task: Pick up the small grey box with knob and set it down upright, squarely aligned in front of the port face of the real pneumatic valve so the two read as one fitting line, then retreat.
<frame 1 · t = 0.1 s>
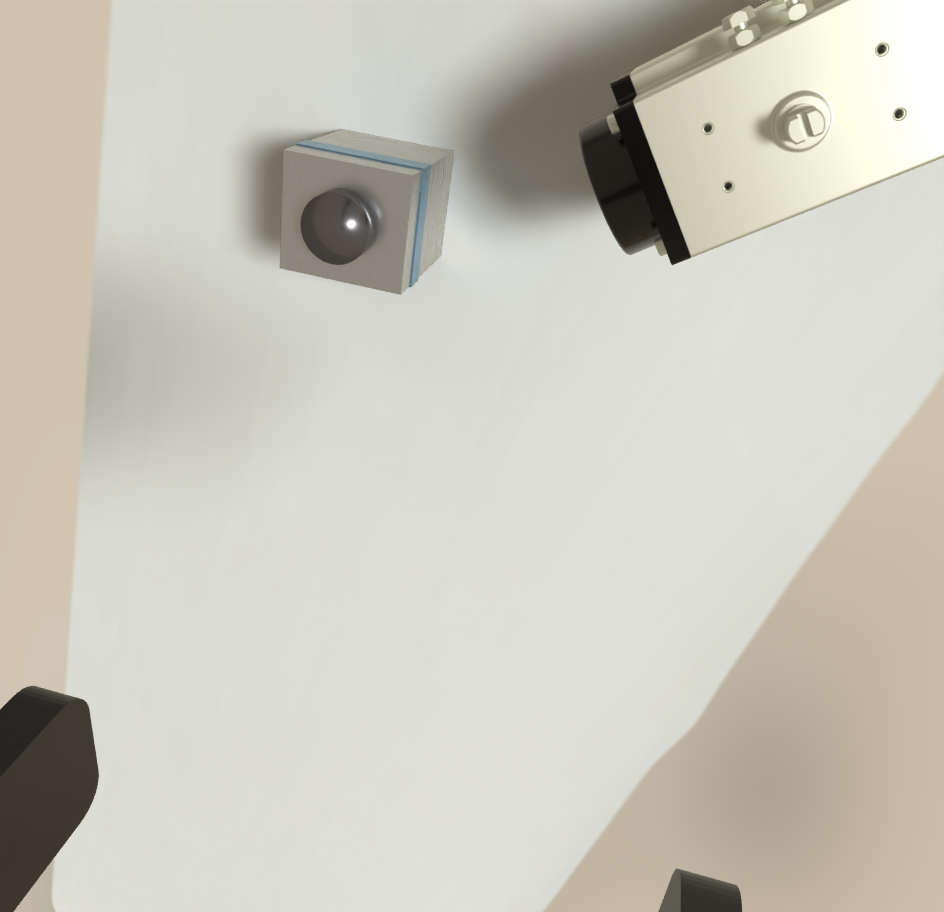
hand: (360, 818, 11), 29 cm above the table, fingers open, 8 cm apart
pneumatic valve: (765, 76, 32), on the table
grey box with knob: (392, 193, 37), on the table
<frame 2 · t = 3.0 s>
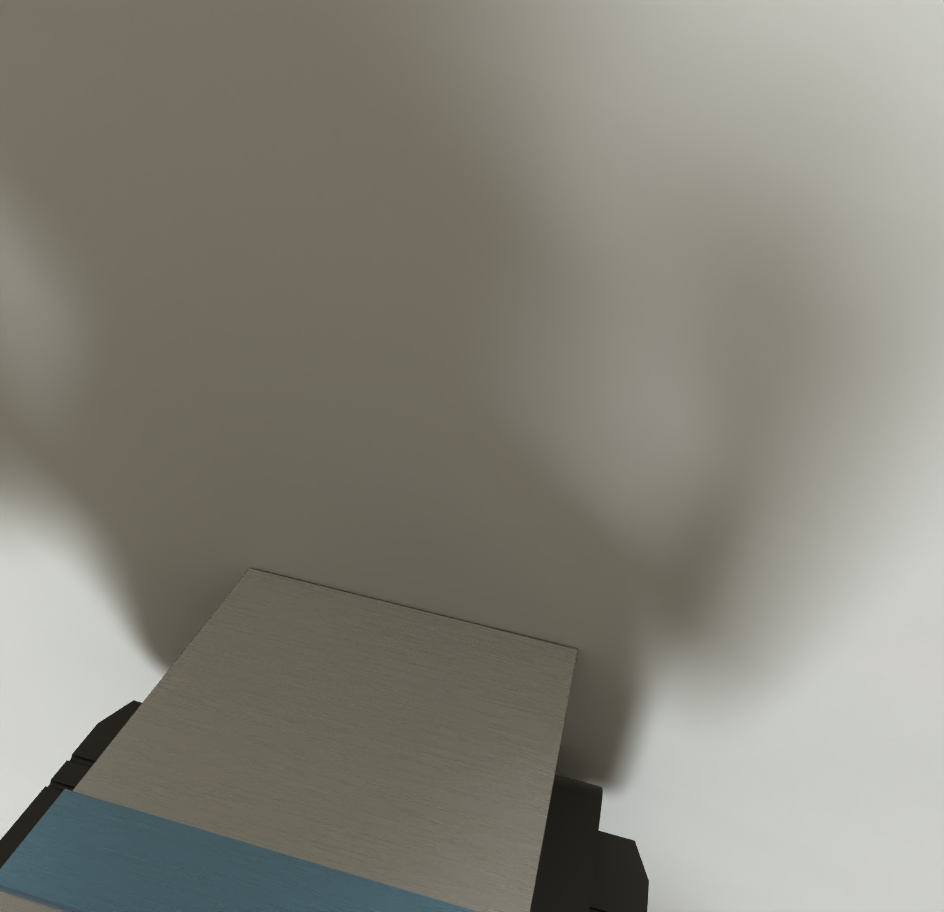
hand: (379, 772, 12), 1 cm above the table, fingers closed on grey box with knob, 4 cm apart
grey box with knob: (395, 740, 12), on the table, touching gripper
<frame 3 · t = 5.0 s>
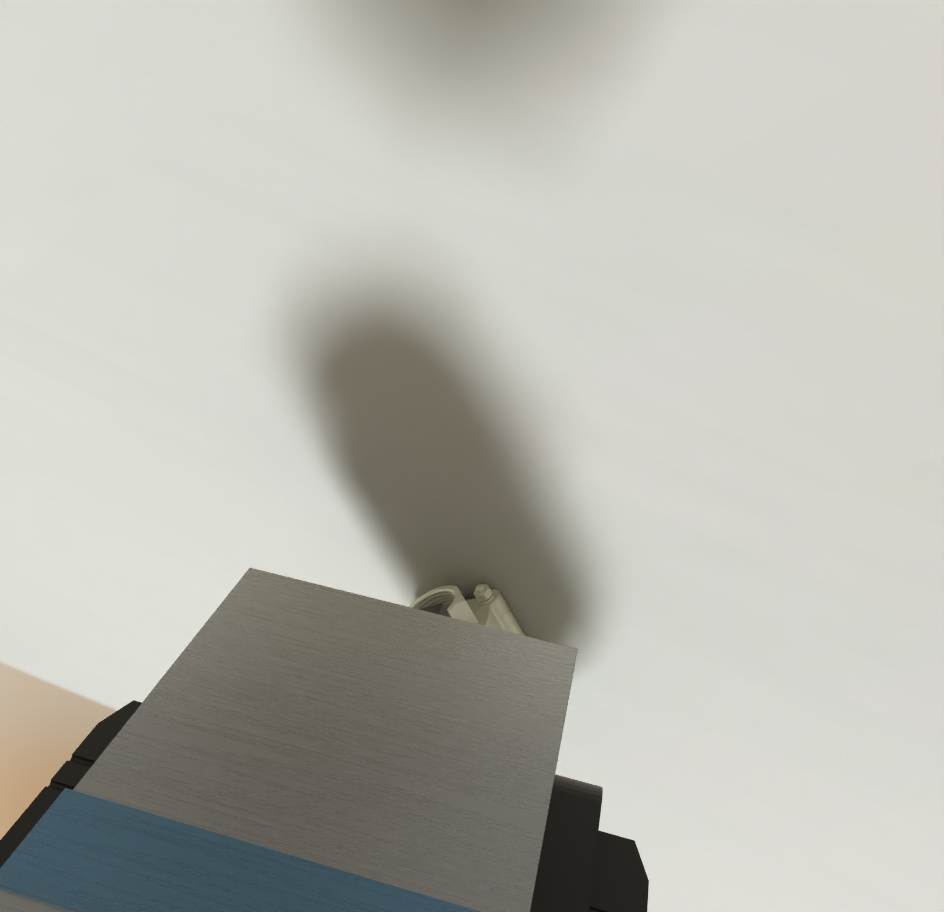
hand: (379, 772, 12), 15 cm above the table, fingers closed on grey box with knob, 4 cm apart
pneumatic valve: (490, 626, 30), on the table
grey box with knob: (395, 740, 12), point 14 cm above the table, touching gripper
when the fingers open (2 cm above the table, at t = 7.3 s): grey box with knob drops 1 cm, on the table.
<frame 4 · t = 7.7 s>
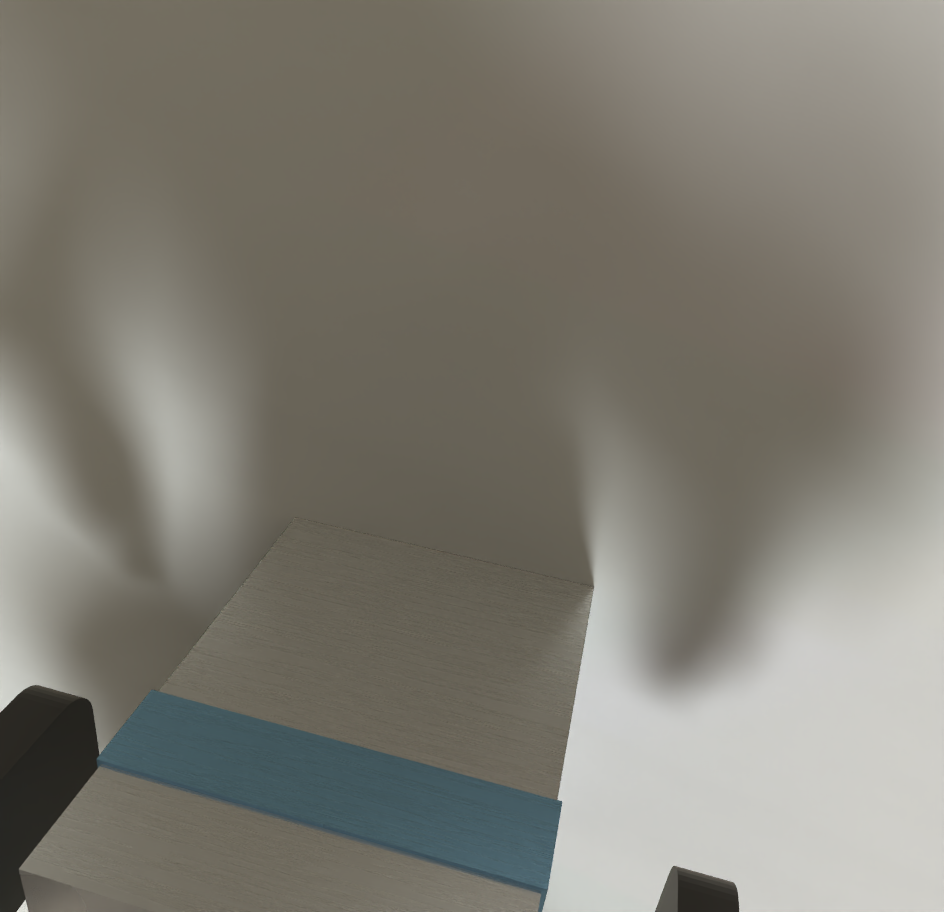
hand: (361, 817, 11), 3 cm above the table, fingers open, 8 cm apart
grey box with knob: (426, 676, 13), on the table
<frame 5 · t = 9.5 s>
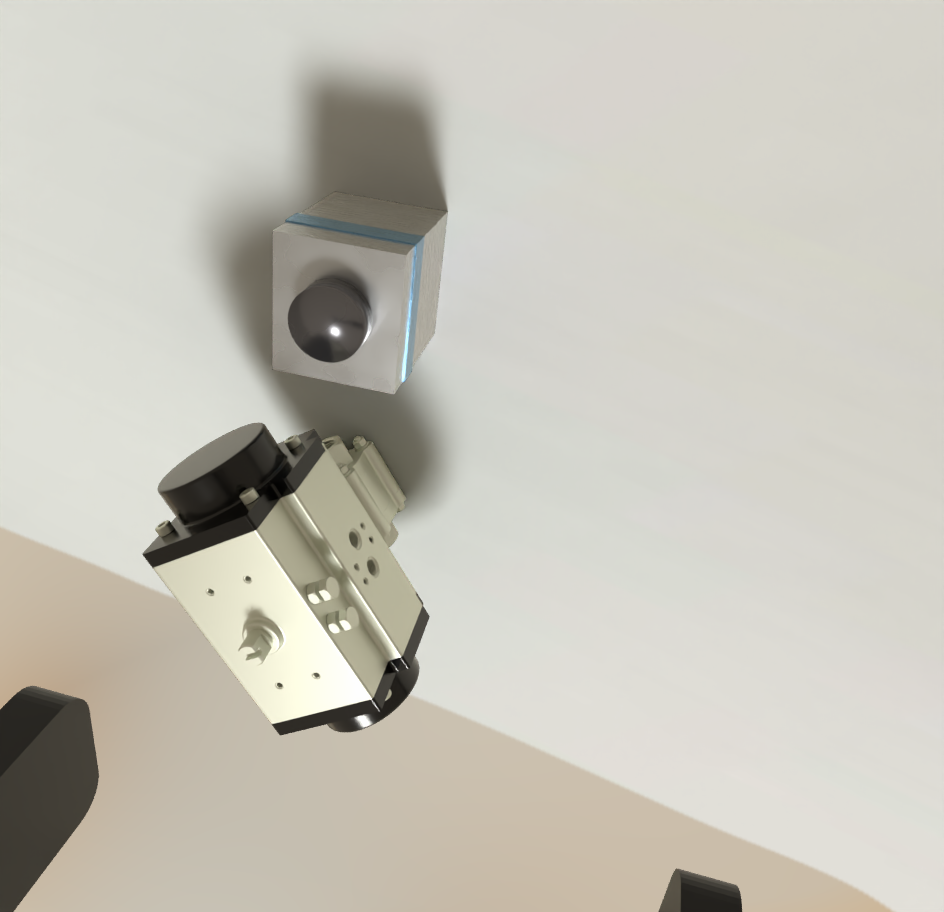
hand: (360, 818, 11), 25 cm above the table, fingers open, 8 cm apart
pneumatic valve: (369, 473, 39), on the table
grey box with knob: (386, 264, 34), on the table
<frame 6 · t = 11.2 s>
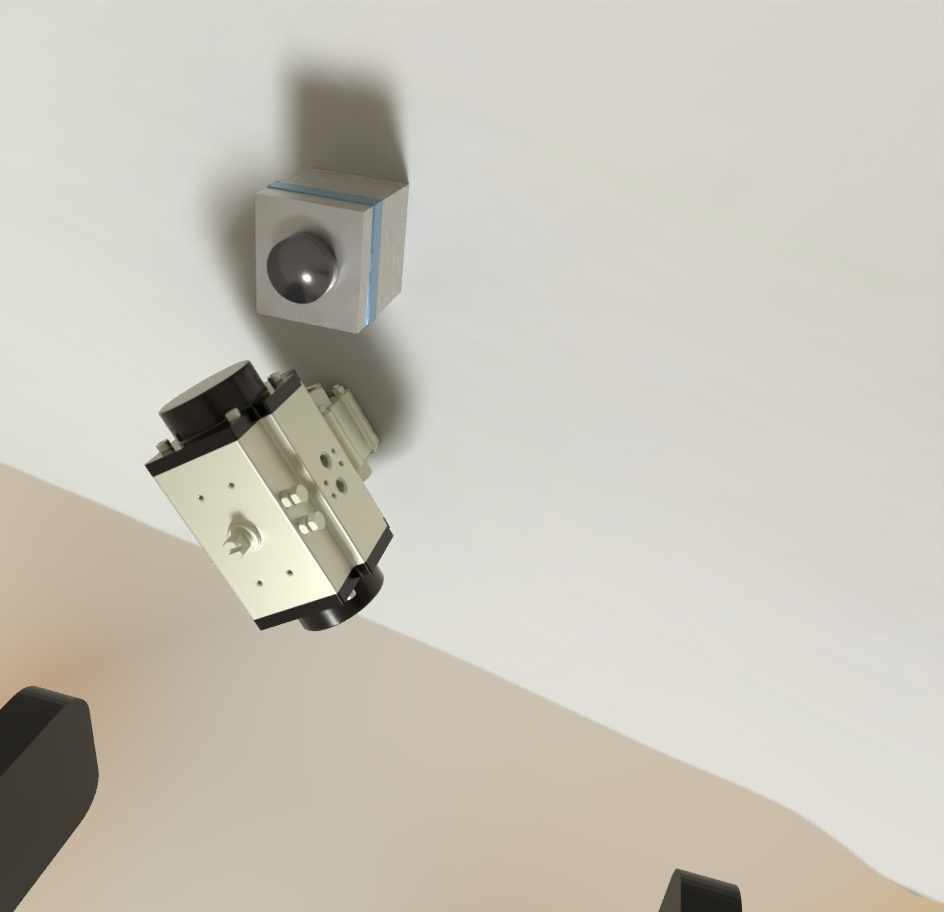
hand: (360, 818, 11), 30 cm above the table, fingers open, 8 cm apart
pneumatic valve: (348, 419, 44), on the table
grey box with knob: (358, 231, 39), on the table
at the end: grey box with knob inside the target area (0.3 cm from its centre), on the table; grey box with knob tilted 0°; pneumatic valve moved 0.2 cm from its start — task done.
